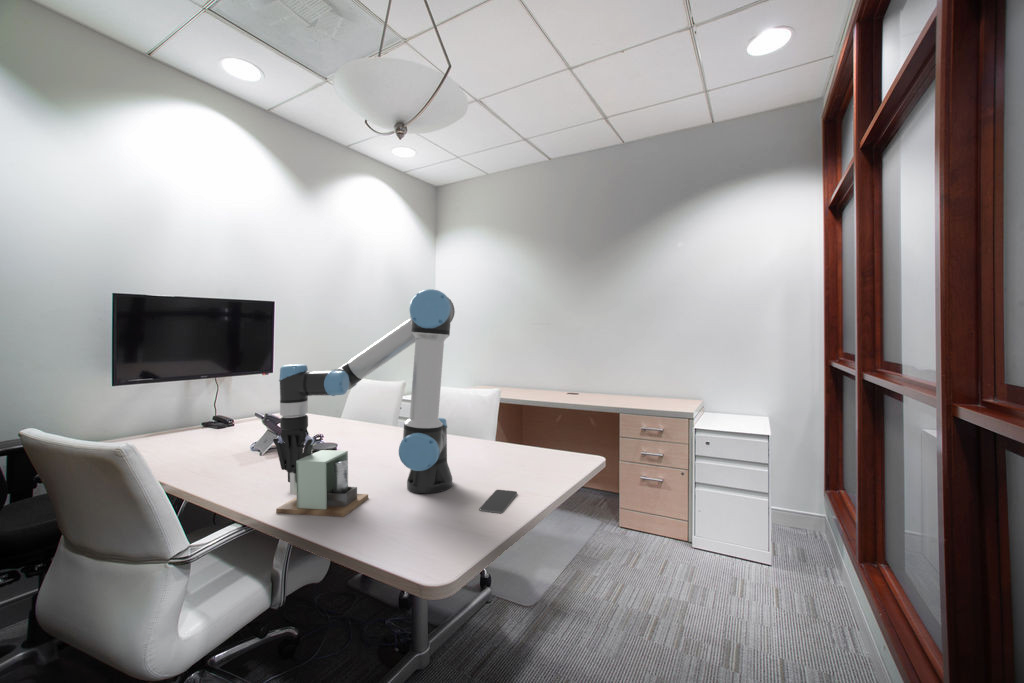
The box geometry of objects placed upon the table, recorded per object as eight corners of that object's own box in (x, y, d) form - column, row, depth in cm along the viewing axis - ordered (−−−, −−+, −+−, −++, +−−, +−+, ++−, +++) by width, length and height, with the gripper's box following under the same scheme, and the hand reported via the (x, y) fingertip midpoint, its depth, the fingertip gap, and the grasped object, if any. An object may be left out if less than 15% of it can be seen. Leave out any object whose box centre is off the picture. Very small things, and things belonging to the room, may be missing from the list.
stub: (350, 499, 126) (350, 460, 126) (343, 504, 122) (343, 463, 122) (337, 499, 127) (337, 459, 127) (330, 504, 123) (330, 463, 123)
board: (368, 498, 131) (368, 483, 131) (343, 516, 117) (343, 500, 117) (307, 494, 134) (307, 480, 134) (276, 512, 120) (276, 496, 120)
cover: (348, 494, 131) (347, 450, 131) (325, 509, 119) (325, 461, 119) (321, 492, 132) (321, 449, 132) (296, 507, 120) (296, 460, 120)
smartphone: (477, 509, 120) (496, 489, 135) (478, 513, 120) (496, 492, 135) (502, 512, 118) (517, 491, 133) (502, 515, 118) (517, 494, 133)
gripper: (321, 413, 130) (322, 489, 130) (283, 412, 132) (284, 487, 132) (305, 418, 122) (306, 498, 122) (265, 417, 124) (267, 496, 124)
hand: (295, 492), depth 127 cm, fingers closed
